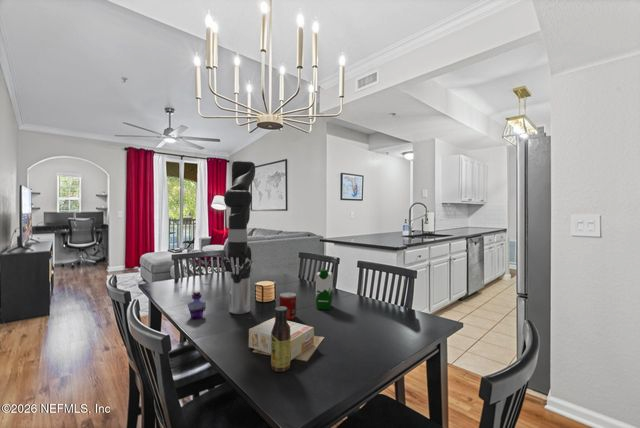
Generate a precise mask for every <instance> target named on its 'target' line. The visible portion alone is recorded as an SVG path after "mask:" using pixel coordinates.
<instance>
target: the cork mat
mask: <svg viewBox="0 0 640 428" xmlns="http://www.w3.org/2000/svg"><path fill="white" fill-rule="evenodd" d="M324 340H325V337H324V336H320V335H319V336H317V335H314V345H312V346H311V347H309V348H308V349H307V350H305V351H304V352H302V353H301V354H299V355H298V356H297V357H295V358H294V359H293V360H297V361H303V362H308V361H309V359H310V358H311V357H312V355H313V354H314V353H315V352H316V349H318V348H319V346H320V345H321V343H322V342H323V341H324ZM252 353H255V354H261V355H266V356H271V354H269V353H266V352H263V351H260V350H257V349H253V350H252Z"/></svg>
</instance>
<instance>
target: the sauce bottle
mask: <svg viewBox="0 0 640 428" xmlns="http://www.w3.org/2000/svg"><path fill="white" fill-rule="evenodd" d="M274 316H275V317H274V318H275V323H274V326H273V329H272V332H271V355H270V365H271V369H272V370H273V371H274V372H278V373H281V372H286V371H288V370H289V369H290V367H291V361H290V347H291V336H290V326H289V325H288V323H287V321H288V320H287V307H284V306H280V305H279V306H276V307H275V308H274Z"/></svg>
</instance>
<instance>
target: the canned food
mask: <svg viewBox="0 0 640 428" xmlns="http://www.w3.org/2000/svg"><path fill="white" fill-rule="evenodd" d="M280 306H284V307H287V321H291V320H295V319H296V317H297V293H295V292H288V291H287V292H281V293H280V294H279V307H280Z"/></svg>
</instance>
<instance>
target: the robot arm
mask: <svg viewBox="0 0 640 428" xmlns="http://www.w3.org/2000/svg"><path fill="white" fill-rule="evenodd" d="M255 176H256V165H255V163H254V162H253V161H249V160H238V159H237V160H233V162H232V164H231V187H230V188H228V189H227V190H226V191H225V194H224V196H223V202H224V204H225V206H226V207H228V208H230V214H229V217H228V232H227V257H226V258H223V259H222V262H223V264H224V266H225V268H226V269H227V271H228V272H229V273H230V293H229V295H228V297H229V298H228V303H229V305H228V307H229V309H228V311H229V312H228V313H231V314H234V315H243V314H247V313H249V312H250V311H251V277H250V276H251V271H252V264H253V260H252V250H251V247H250V246H249V244H248V224H249V222H250V216H251V204H252V199H253V197H252V194H251V192H250V186H251V184H252V183H253V180H254V179H255Z"/></svg>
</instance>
